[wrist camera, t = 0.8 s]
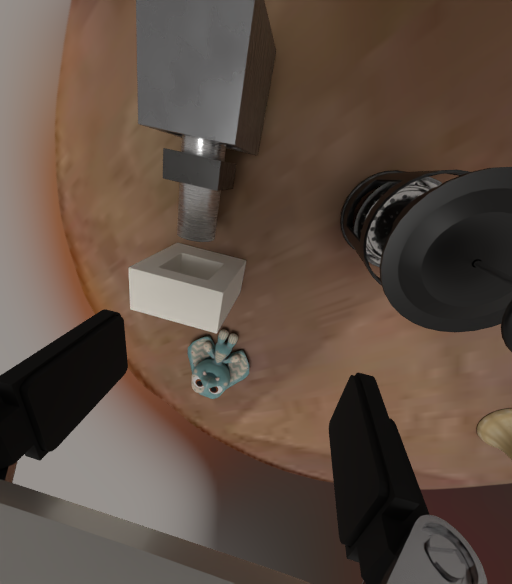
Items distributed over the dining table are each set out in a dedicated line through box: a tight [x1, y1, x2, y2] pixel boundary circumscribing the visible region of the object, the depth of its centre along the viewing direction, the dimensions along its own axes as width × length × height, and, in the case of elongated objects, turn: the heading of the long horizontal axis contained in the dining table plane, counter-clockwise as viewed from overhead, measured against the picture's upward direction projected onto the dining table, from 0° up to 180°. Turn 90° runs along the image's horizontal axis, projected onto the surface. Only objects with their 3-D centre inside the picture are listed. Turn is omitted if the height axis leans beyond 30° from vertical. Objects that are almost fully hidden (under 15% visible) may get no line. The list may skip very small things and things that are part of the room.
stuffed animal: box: [188, 329, 249, 399], centre depth 39 cm, size 11×7×12 cm
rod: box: [163, 134, 236, 242], centre depth 22 cm, size 19×5×5 cm, turn 169°
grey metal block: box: [136, 0, 276, 155], centre depth 22 cm, size 9×8×10 cm
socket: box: [129, 243, 246, 333], centre depth 30 cm, size 5×10×10 cm, turn 79°
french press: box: [340, 167, 512, 352], centre depth 18 cm, size 12×9×23 cm
